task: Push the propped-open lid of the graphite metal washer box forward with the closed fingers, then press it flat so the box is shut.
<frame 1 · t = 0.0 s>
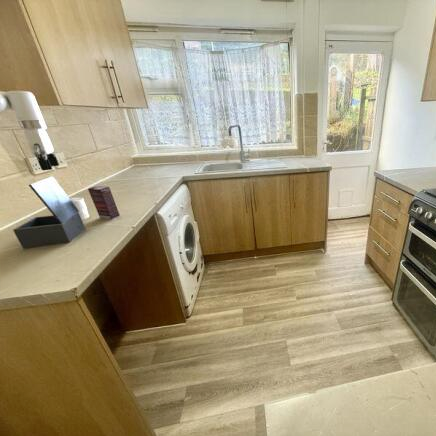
hand: (51, 167, 105), 27 cm above the countertop, tool pointing down, fingers open, 9 cm apart
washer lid: (56, 199, 96), point 17 cm above the countertop, hinge at 75.0°
washer box: (57, 239, 102), on the countertop
white cup: (81, 218, 122), on the countertop
supplement box: (110, 218, 122), on the countertop
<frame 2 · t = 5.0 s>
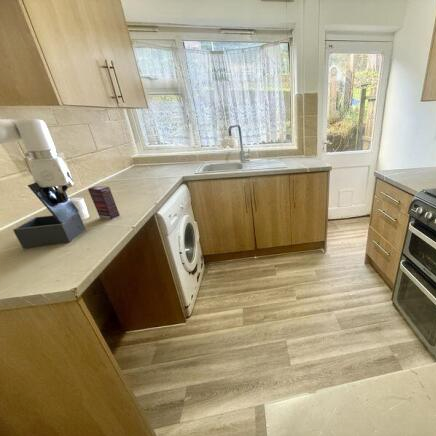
hand: (63, 201, 97), 16 cm above the countertop, tool pointing down, fingers closed
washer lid: (55, 199, 96), point 17 cm above the countertop, hinge at 73.8°, touching gripper
everything else where it was.
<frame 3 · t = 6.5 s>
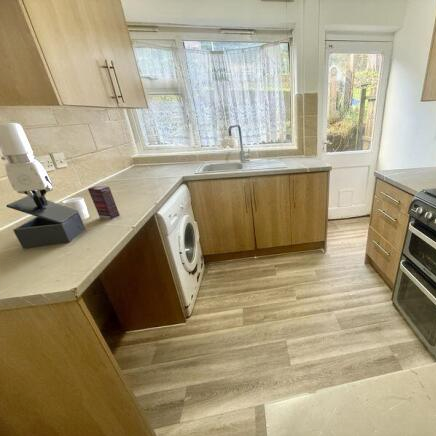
hand: (43, 206, 96), 15 cm above the countertop, tool pointing down, fingers closed
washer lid: (45, 209, 96), point 14 cm above the countertop, hinge at 32.7°
everything else where it was.
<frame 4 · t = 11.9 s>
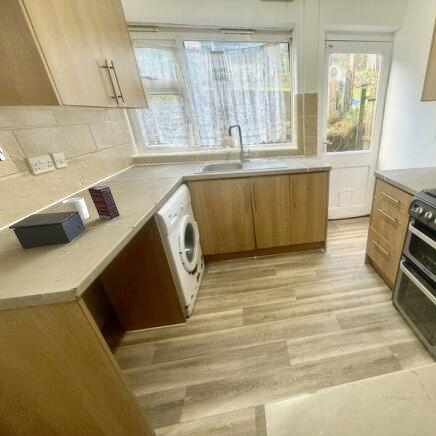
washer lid: (46, 219, 98), point 9 cm above the countertop, hinge at 1.3°
everything else where it was.
at the end: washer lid at +1° (first picture: +75°) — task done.
